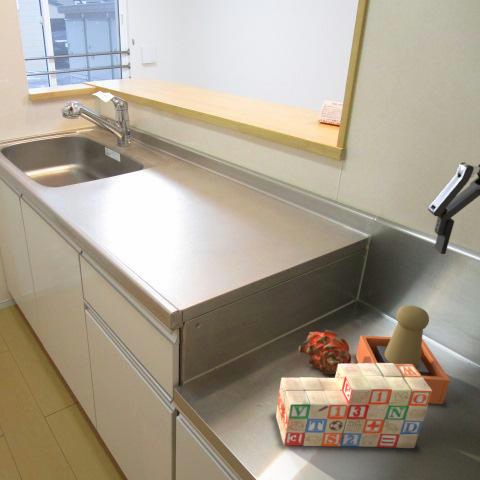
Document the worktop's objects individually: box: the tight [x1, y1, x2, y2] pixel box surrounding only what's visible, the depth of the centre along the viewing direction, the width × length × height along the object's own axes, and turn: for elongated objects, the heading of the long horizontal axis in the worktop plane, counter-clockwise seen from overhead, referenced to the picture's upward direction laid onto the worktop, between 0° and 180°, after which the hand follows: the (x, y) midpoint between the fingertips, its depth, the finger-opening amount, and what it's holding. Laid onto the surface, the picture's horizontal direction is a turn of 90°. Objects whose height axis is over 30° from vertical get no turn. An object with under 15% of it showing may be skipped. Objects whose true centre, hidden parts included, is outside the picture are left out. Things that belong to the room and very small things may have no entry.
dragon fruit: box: [298, 329, 352, 376], centre depth 90 cm, size 8×8×12 cm
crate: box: [355, 335, 451, 405], centre depth 87 cm, size 12×12×6 cm
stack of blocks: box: [275, 362, 432, 449], centre depth 74 cm, size 21×6×12 cm, turn 89°
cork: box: [384, 304, 430, 368], centre depth 83 cm, size 6×6×11 cm
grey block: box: [375, 346, 429, 376], centre depth 87 cm, size 7×7×4 cm
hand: (479, 252), depth 83 cm, fingers open, 13 cm apart
